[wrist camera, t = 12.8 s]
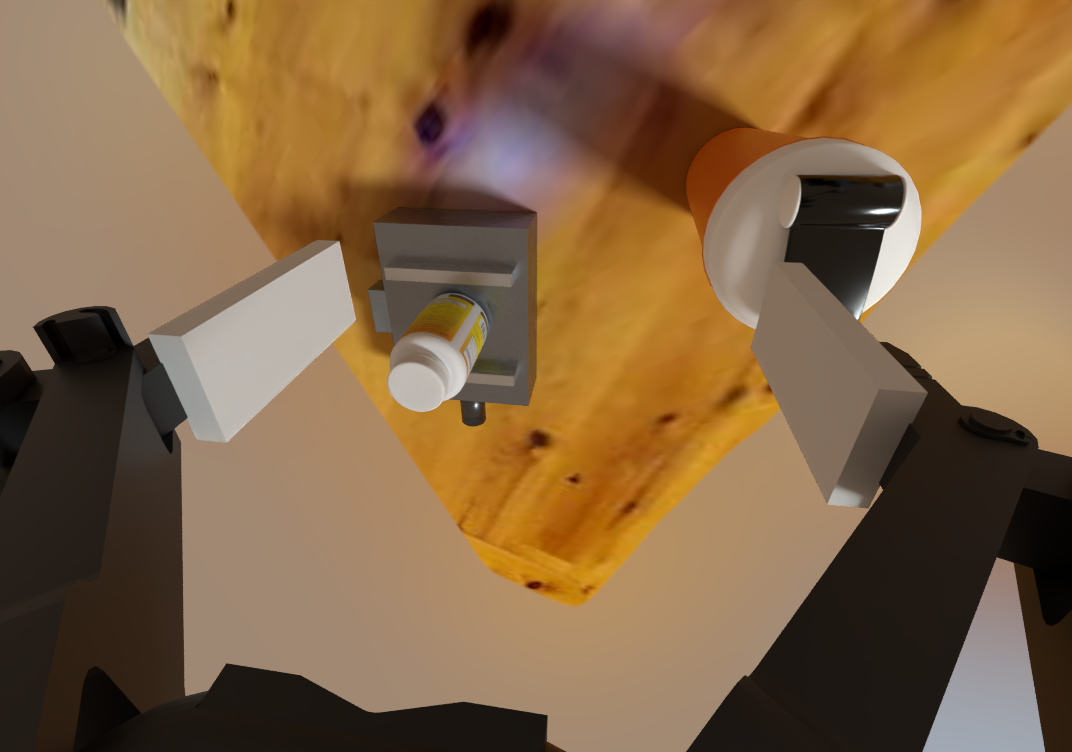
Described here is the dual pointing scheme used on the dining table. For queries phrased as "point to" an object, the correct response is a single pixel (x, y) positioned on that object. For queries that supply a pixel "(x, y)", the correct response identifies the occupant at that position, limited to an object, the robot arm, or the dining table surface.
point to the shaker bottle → (800, 216)
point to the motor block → (466, 290)
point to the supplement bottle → (437, 352)
